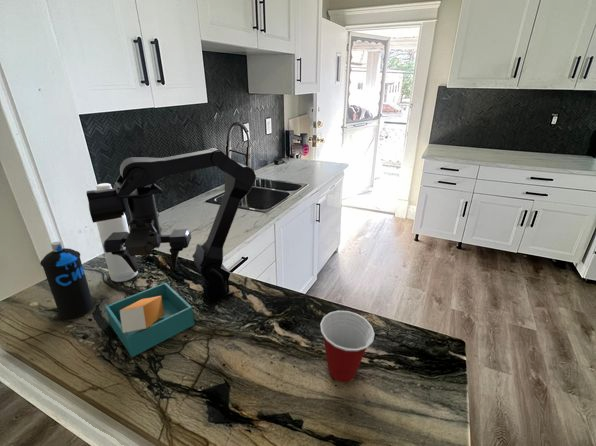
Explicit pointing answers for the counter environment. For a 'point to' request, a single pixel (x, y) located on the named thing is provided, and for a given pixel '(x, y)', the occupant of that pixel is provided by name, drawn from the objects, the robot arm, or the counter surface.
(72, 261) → the aerosol can
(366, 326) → the plastic cup
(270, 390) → the counter surface
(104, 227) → the bottle
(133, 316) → the drink carton
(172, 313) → the bin
